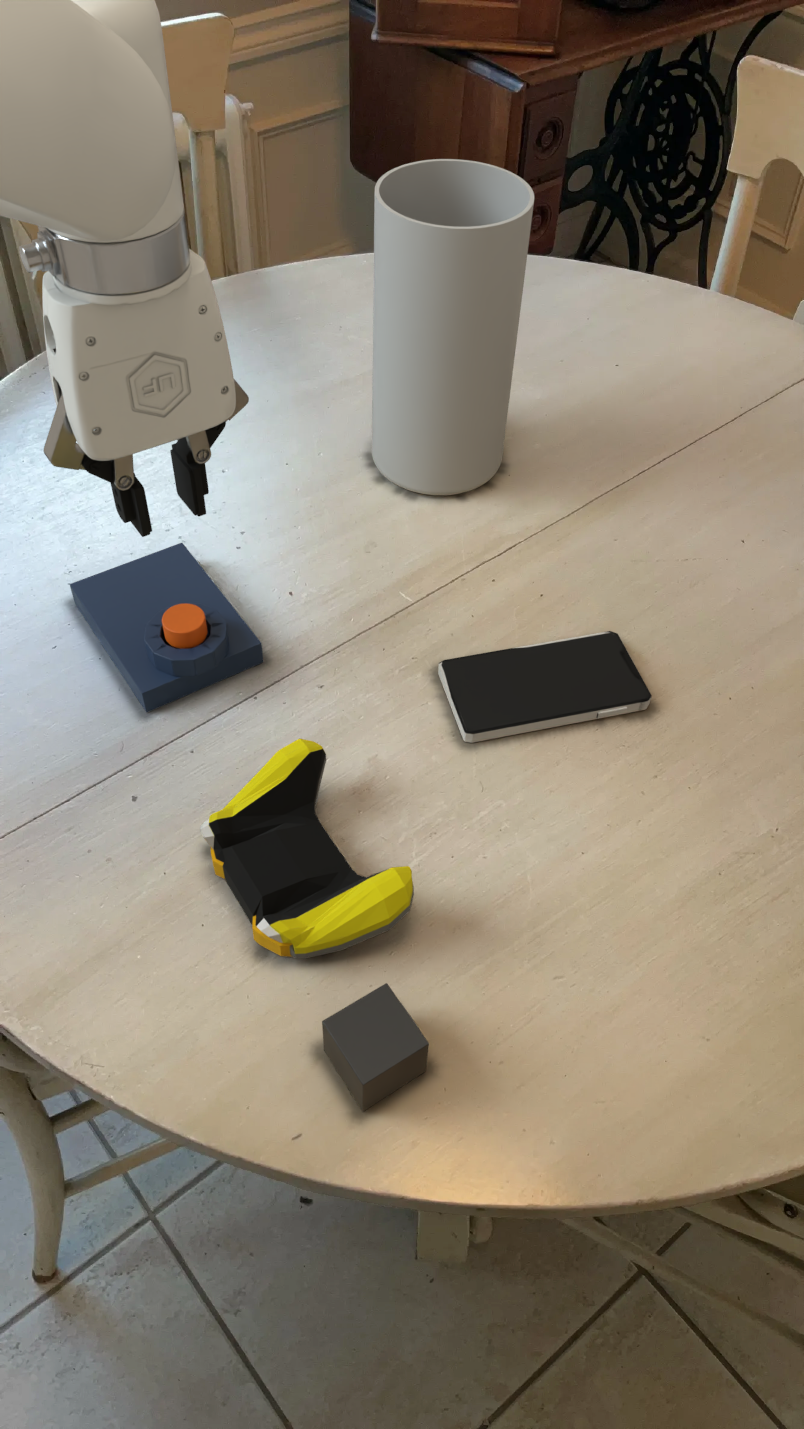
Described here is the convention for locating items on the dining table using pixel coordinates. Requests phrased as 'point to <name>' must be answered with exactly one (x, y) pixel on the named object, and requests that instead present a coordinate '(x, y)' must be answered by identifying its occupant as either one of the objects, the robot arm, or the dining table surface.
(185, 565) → the button base
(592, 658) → the smartphone
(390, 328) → the cylinder vase
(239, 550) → the dining table surface
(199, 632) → the power button
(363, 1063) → the block
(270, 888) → the gaming controller
